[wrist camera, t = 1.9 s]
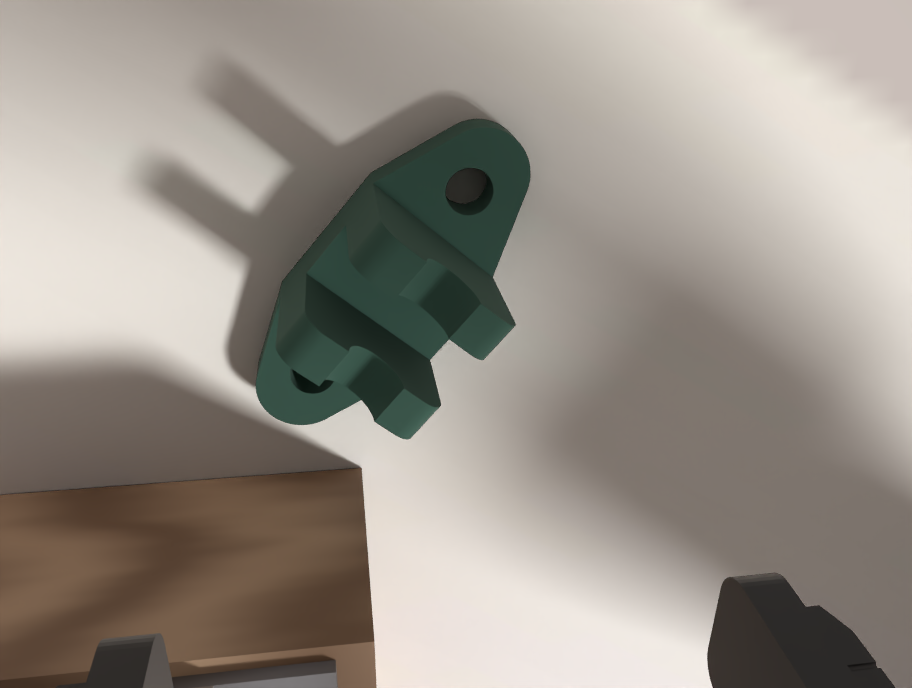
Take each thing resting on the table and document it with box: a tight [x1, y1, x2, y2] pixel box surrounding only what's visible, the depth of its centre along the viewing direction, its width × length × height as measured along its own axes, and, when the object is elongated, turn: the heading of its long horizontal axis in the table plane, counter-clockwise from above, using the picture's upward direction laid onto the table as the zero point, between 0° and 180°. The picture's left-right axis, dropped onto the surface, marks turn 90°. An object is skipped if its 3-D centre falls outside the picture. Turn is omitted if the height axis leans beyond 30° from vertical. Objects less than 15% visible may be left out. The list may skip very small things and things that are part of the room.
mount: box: [256, 119, 530, 439], centre depth 22 cm, size 11×4×5 cm, turn 139°
